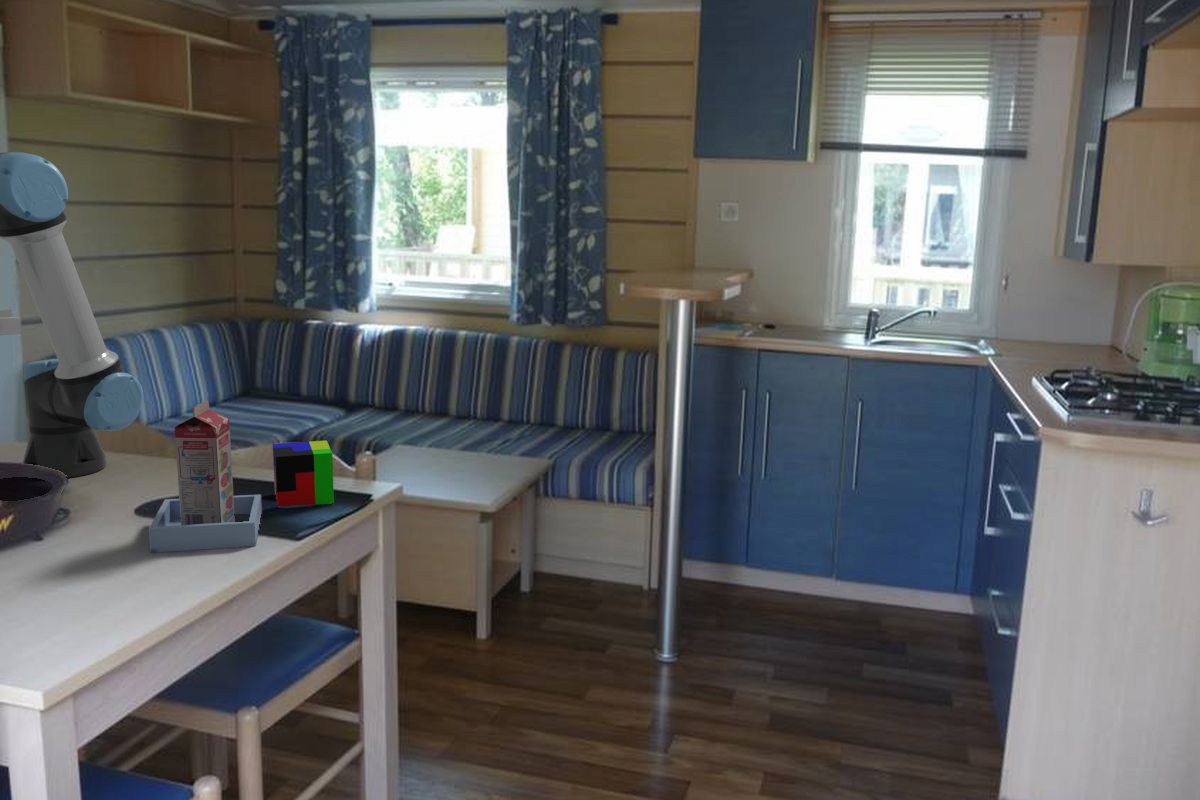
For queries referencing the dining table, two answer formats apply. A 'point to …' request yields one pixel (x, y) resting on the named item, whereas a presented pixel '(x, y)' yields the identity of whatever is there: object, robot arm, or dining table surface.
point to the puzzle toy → (303, 473)
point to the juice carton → (204, 468)
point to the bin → (204, 528)
